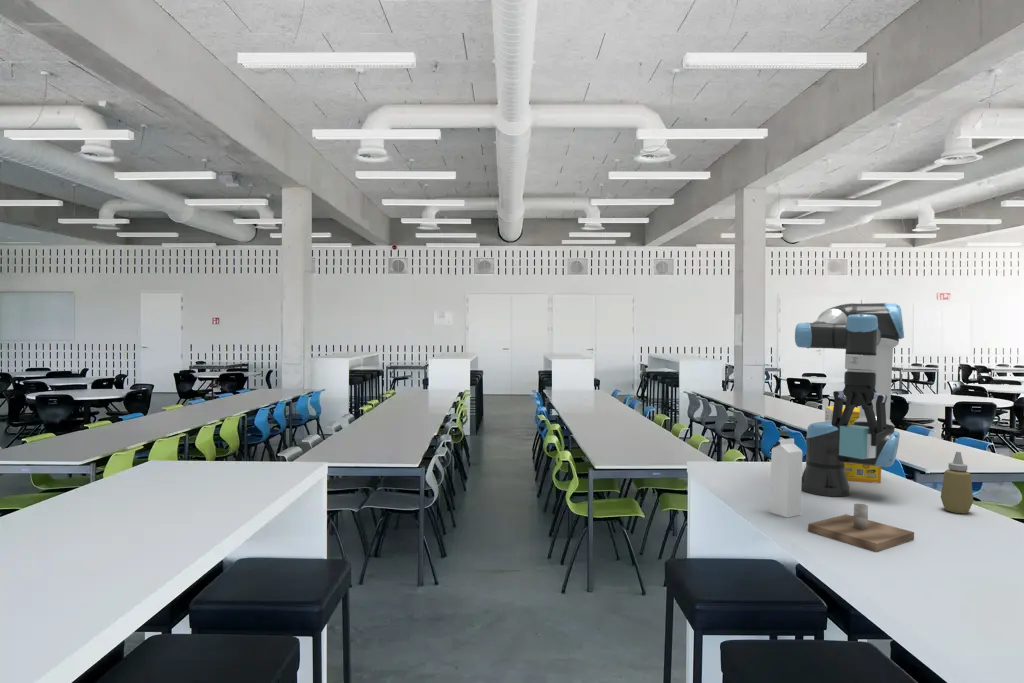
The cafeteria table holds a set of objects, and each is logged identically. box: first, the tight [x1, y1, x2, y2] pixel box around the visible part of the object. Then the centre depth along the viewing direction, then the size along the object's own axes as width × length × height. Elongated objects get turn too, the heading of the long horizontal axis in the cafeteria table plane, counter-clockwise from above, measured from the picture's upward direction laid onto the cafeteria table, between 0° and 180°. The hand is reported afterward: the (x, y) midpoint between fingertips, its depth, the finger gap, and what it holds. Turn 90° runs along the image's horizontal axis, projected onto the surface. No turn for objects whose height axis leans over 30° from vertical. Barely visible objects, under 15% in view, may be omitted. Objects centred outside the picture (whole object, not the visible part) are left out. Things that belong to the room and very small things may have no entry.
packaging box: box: [824, 405, 882, 484], centre depth 236 cm, size 16×16×25 cm
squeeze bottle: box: [940, 451, 974, 515], centre depth 191 cm, size 8×8×18 cm
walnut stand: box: [807, 503, 915, 553], centre depth 167 cm, size 18×18×8 cm
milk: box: [769, 437, 803, 519], centre depth 185 cm, size 6×6×22 cm
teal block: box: [839, 425, 876, 459], centre depth 173 cm, size 6×6×8 cm
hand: (857, 455), depth 173 cm, fingers closed on teal block, 6 cm apart
